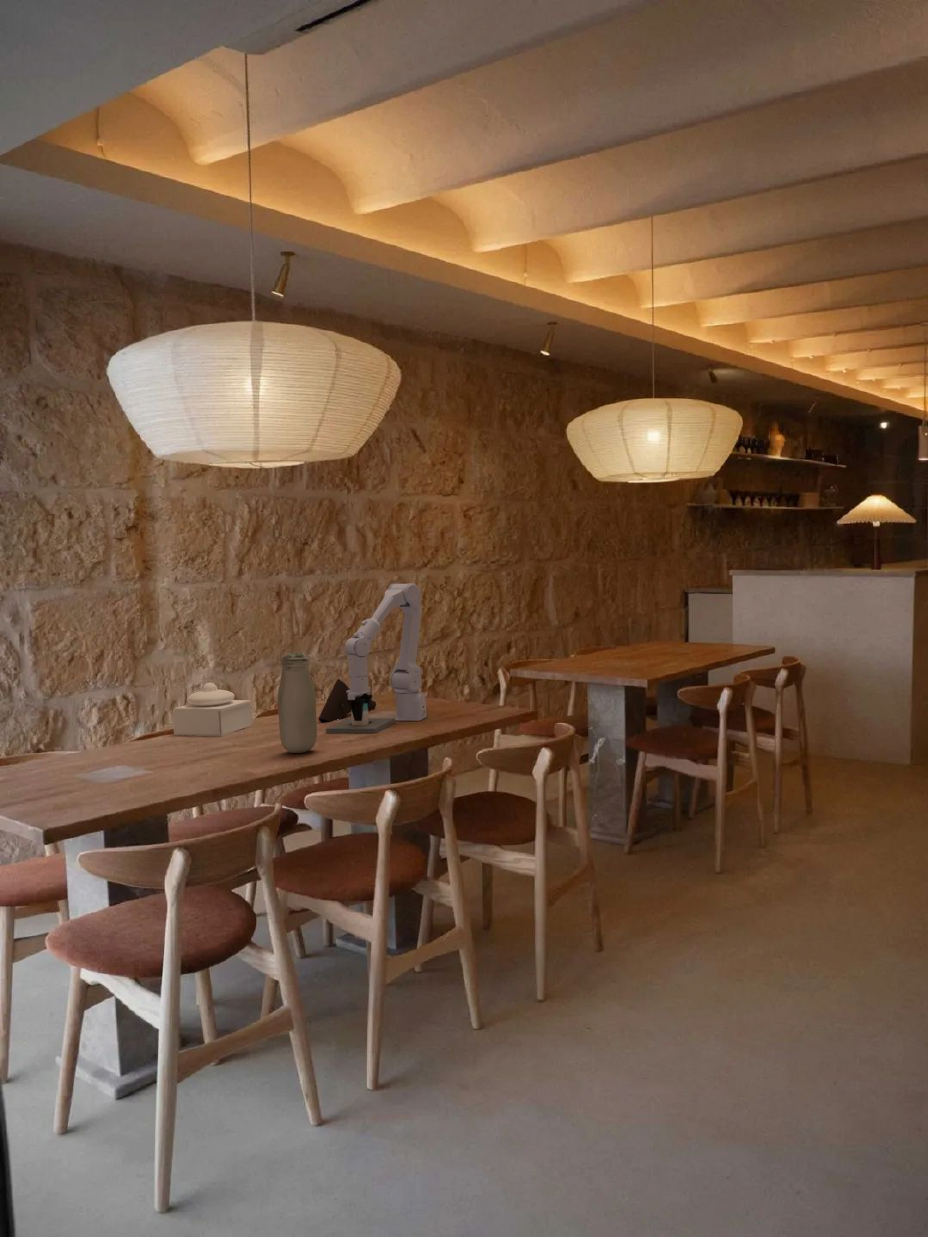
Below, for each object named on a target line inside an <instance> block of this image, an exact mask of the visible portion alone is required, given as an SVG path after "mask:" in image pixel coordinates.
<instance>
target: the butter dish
mask: <svg viewBox="0 0 928 1237" xmlns="http://www.w3.org/2000/svg"><path fill="white" fill-rule="evenodd" d="M201 688H202V689H201V690H200V691H197V692H193V693H192V694H190V695H188V696H187V698H186V702H187V703H188V704H186V705H182V706H177V707H175V708H173V710H172V723H173V724H172V725H173V735H174V736H177V735H195V736H194V737H220V736H221V737H223V736H222V735H224V736H227V735H230V734H233V733H232V732H234V731H237V730H239V729H243V728H245V727H248V726H251V725H252V726H253V723H252V722H253V721H252V706H251V703H252V699H250V700H249V699H235V697H236V696H235V694H234V693H233V692H231V691H230V690H226V689H218V687H217V685H216V684H215V683H214V682H207V683H204V685H203V686H202V687H201ZM243 730H244V729H243ZM237 732H238V731H237ZM229 733H230V734H229ZM234 733H235V732H234Z"/></svg>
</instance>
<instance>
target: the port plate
mask: <svg viewBox="0 0 928 1237" xmlns="http://www.w3.org/2000/svg"><path fill="white" fill-rule="evenodd" d="M395 718H396V717H392V718H389V717H388V718H386V717H384V718H383V717H382V718H381V717H380V718H379V717H375V718H374V717H372V718H371V717H370V718H369V717H368V722H369V724H368V725H352V718H346V719H344V720H341V721H339V722H336V723H335V724H333V725H331V726H329V727H326V728H325V733H326V734H373V735H374V734H377V733H380V732H381V731H383V730H385V729H387V728H388V727H390V726H392V725H394V724H395V723H396V721H395ZM393 723H394V724H393Z"/></svg>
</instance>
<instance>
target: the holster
mask: <svg viewBox="0 0 928 1237" xmlns="http://www.w3.org/2000/svg"><path fill="white" fill-rule="evenodd" d="M347 690H350V687H349V686H348V685H347V684H346V683H345V682H344V681H342V680H341V679H340V678H337V679H336V681H335V682H334V685H333V687H332V688H331V691H330V693H329V695H328V698H327V700H326V702H325V704H324V705H323V708H322V710H321V713H320V714H319V717H318V721H319V722H325V721H324V720H326V722H330V721H331V722H335V721H338V720H337V719H339V720H341V719H343V718H345V717H347V715H348V714H351V708H350V706H349V704H348V703H347V699H348V693H347ZM376 706H377V701H375V700H373V699H371V701H370V704H369V709H368V711H369V710H370V711H372V709H373V710H375V709H376ZM342 717H343V718H342ZM340 718H341V719H340ZM334 720H335V721H334ZM331 722H330V723H331Z"/></svg>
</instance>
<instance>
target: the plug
mask: <svg viewBox="0 0 928 1237" xmlns="http://www.w3.org/2000/svg"><path fill="white" fill-rule="evenodd" d="M350 714H351V715H350V716H351V718H352V725H368V724H369V722H368V718H369V709H368V705H367V703H364V705H363V713H362V721H355V720H354V717H353V713H352V710H351V712H350Z"/></svg>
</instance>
